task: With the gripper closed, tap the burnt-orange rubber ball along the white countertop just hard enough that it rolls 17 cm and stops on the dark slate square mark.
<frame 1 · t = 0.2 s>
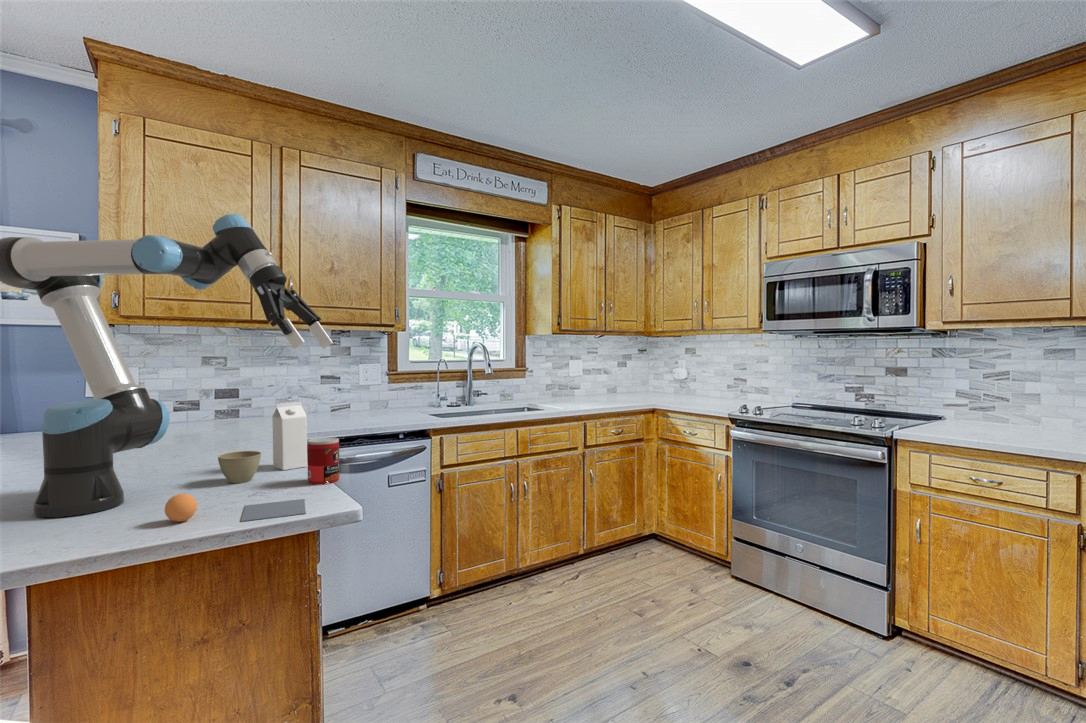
hand: (314, 345, 129), 36 cm above the counter, tool tilted 35°, fingers open, 13 cm apart
milk carton: (290, 467, 160), on the counter
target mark: (274, 510, 117), on the counter
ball: (181, 507, 110), on the counter
olive green bowl: (240, 482, 144), on the counter
canned food: (323, 482, 143), on the counter
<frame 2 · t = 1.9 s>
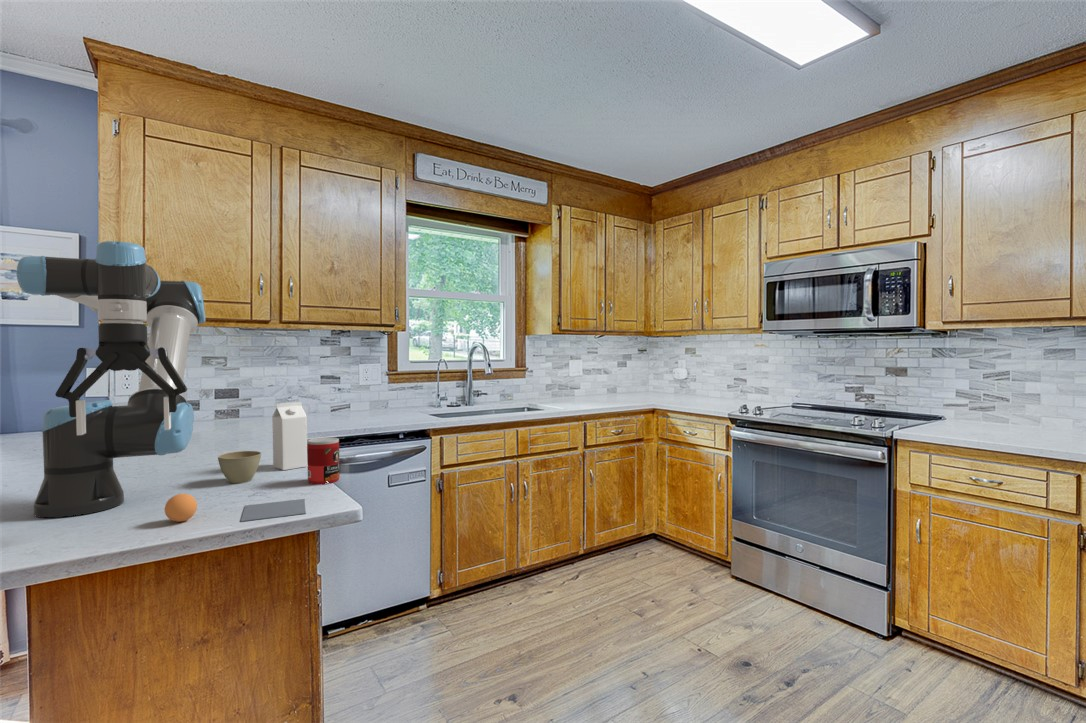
hand: (125, 431, 106), 19 cm above the counter, tool pointing down, fingers open, 13 cm apart
nothing on the counter moved.
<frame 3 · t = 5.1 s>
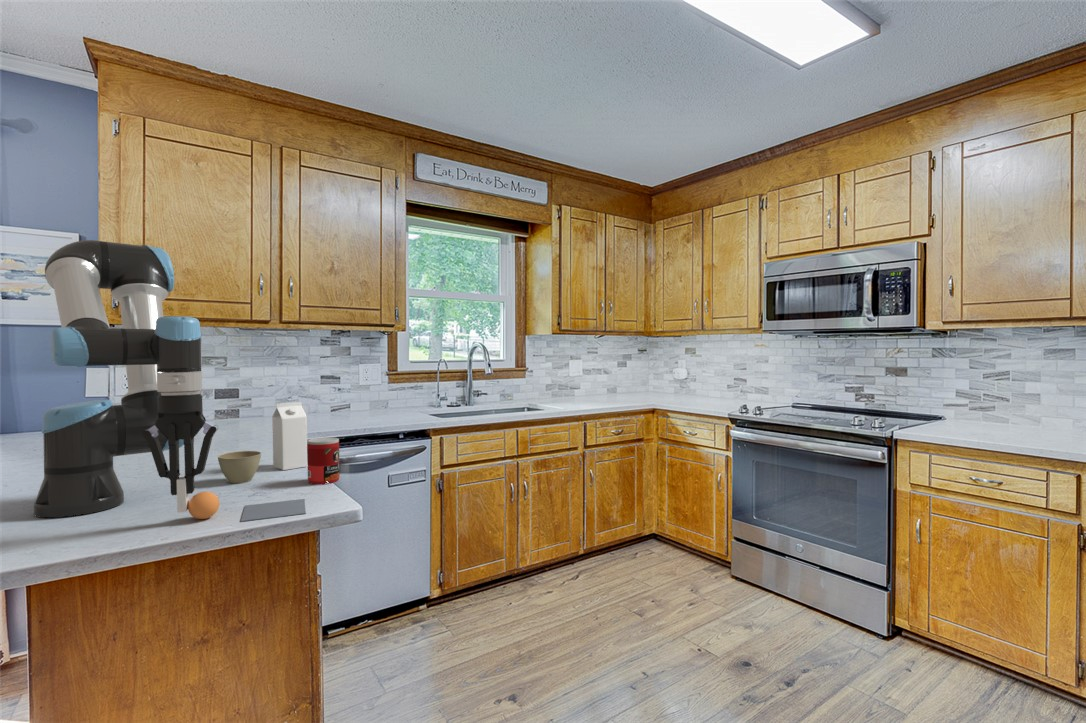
hand: (183, 510, 110), 2 cm above the counter, tool pointing down, fingers closed
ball: (203, 505, 112), on the counter
everything else where it was.
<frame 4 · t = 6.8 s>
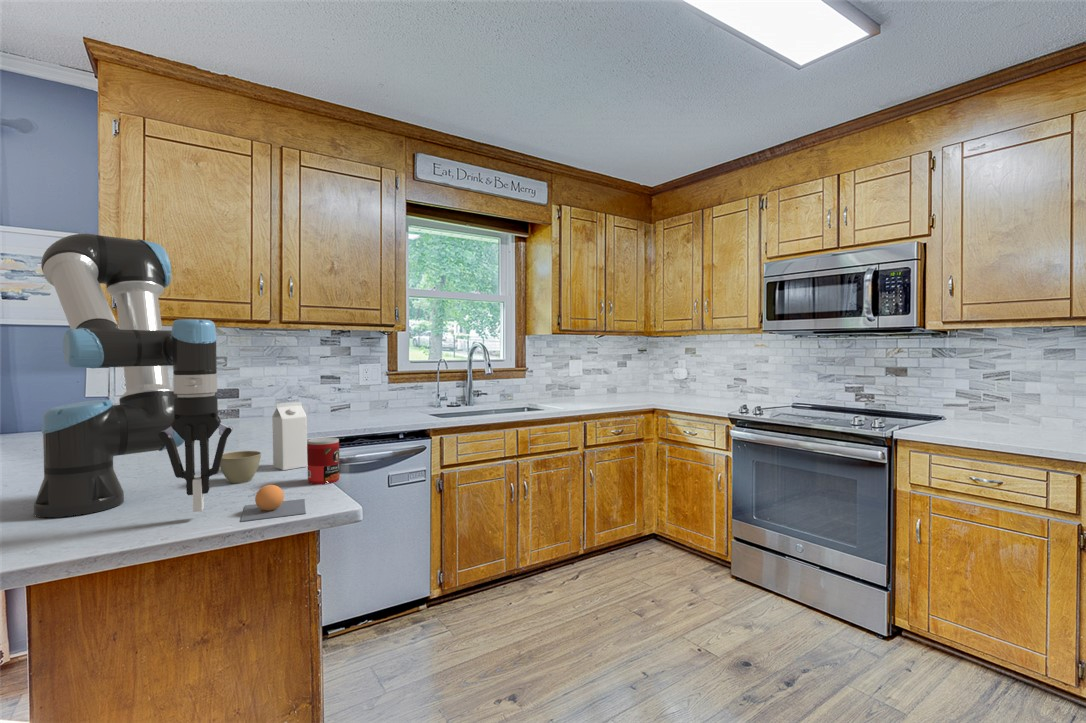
hand: (198, 509, 111), 2 cm above the counter, tool pointing down, fingers closed
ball: (269, 497, 117), on the counter
everything else where it was.
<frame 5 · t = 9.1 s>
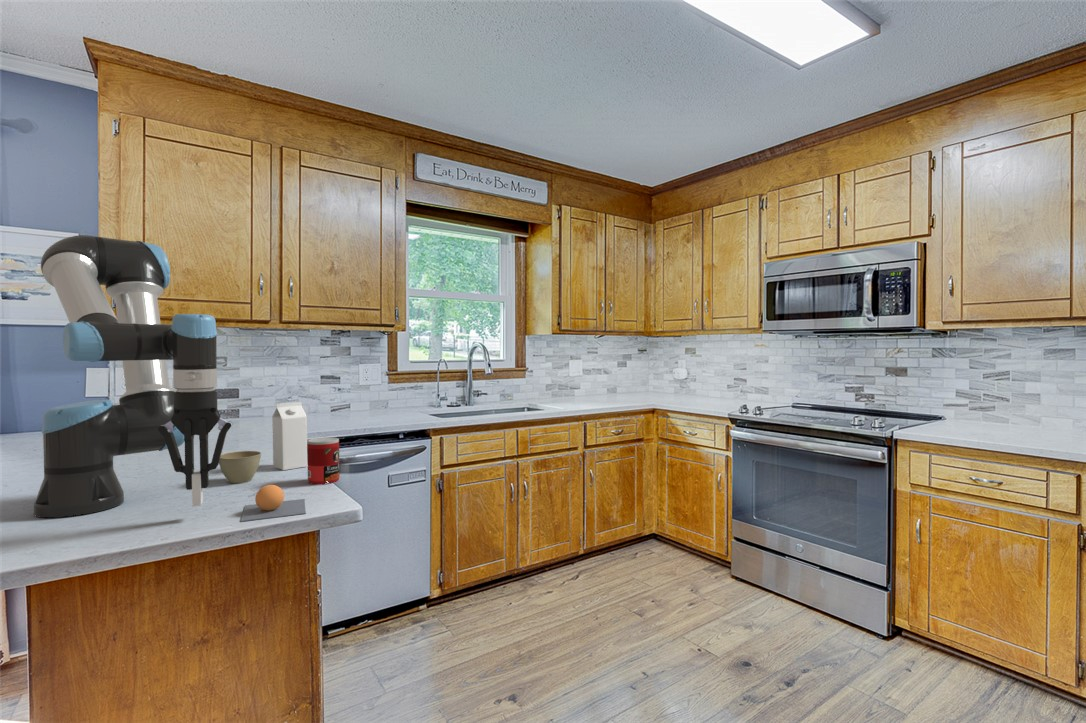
hand: (197, 504, 112), 3 cm above the counter, tool pointing down, fingers closed
nothing on the counter moved.
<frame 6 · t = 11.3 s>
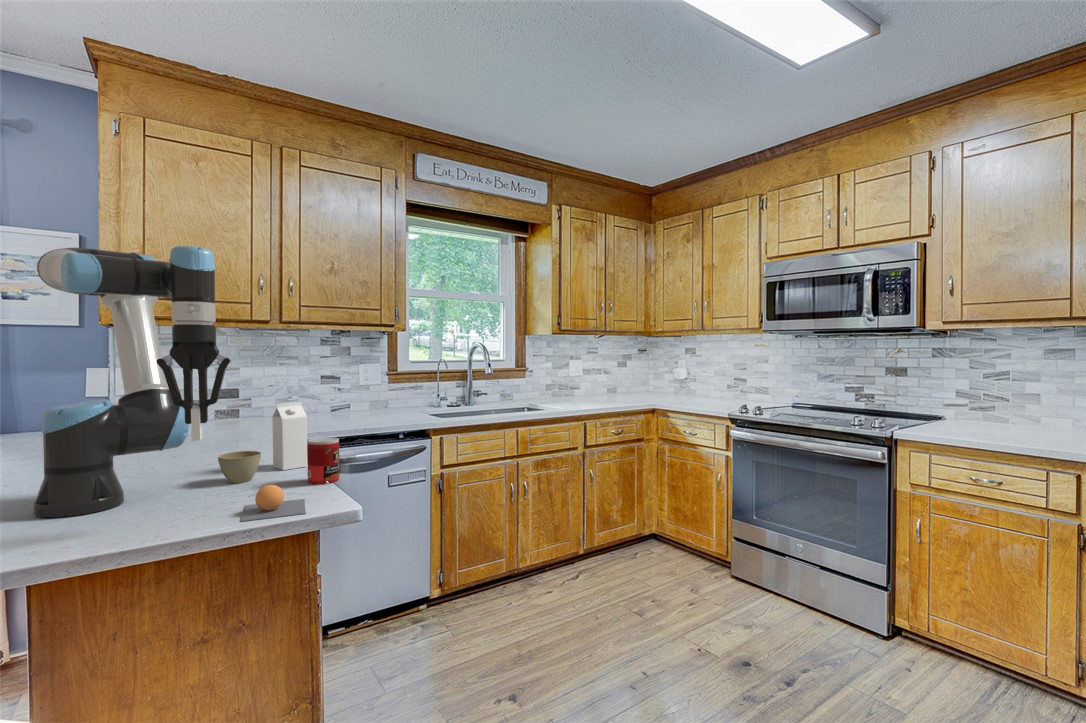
hand: (196, 439, 111), 16 cm above the counter, tool pointing down, fingers closed
nothing on the counter moved.
at the end: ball 0.9 cm from the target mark (horizontally); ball at rest at the end (0.0 cm/s); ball moved 16.1 cm from its start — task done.
